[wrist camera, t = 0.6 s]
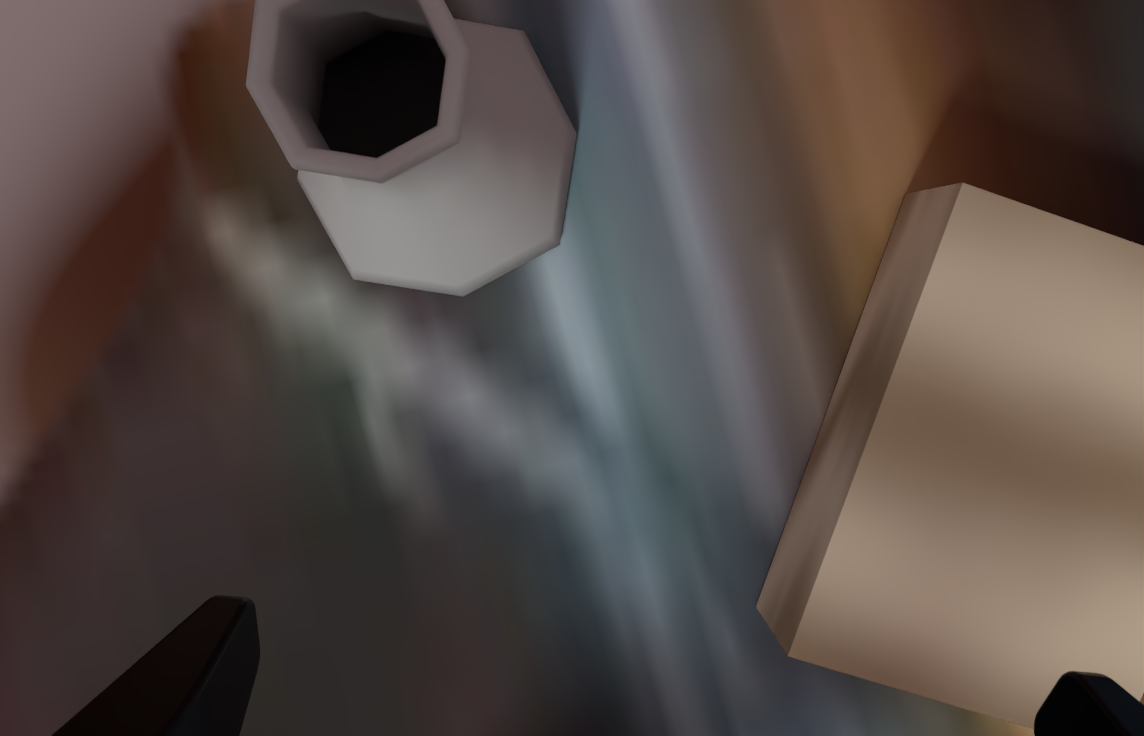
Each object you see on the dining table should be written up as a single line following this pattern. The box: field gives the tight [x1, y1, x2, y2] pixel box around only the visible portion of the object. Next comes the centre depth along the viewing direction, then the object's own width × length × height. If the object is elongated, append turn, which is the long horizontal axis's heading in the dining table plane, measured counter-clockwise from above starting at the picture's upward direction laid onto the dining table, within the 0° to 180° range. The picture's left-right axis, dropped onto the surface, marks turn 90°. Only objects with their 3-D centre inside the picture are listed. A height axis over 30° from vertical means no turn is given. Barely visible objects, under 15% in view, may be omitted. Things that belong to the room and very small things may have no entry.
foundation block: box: [756, 183, 1144, 729], centre depth 22 cm, size 12×9×3 cm
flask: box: [246, 0, 577, 296], centre depth 17 cm, size 7×7×10 cm
